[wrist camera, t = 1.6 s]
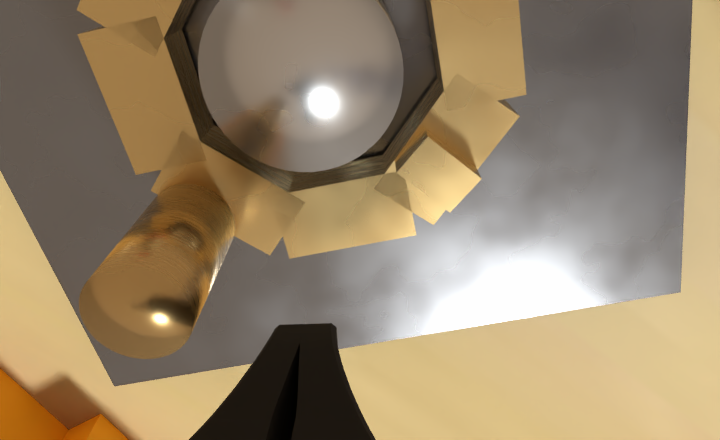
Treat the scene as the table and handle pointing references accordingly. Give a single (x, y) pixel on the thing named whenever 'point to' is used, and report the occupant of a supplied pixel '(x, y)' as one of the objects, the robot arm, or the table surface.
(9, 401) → the pipe clamp
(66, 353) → the table surface
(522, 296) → the housing
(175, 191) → the ring nut
